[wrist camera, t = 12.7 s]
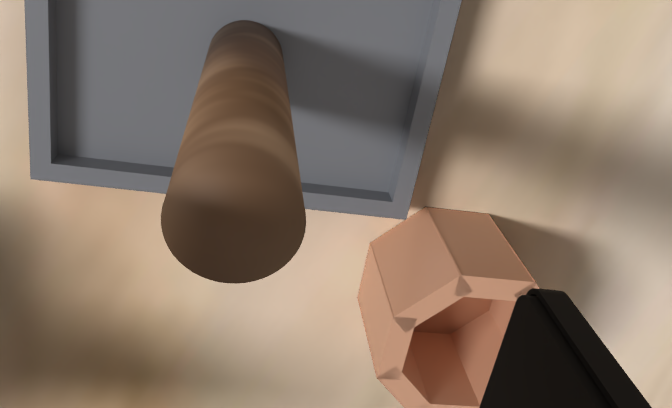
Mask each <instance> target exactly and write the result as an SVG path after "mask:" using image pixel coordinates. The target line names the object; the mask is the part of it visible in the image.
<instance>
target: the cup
mask: <svg viewBox="0 0 672 408" xmlns="http://www.w3.org/2000/svg"><path fill="white" fill-rule="evenodd" d="M532 288H536V289H540V288H539V287H538V285H537V284H536V281H535V280H534V278H533V277H532V276H531V274H530V273H529V271H528V270H527V268H526V267H525V266H524V264H523V263H522V261H521V260H520V258H519V257H518V255H517V254H516V253H515V251H514V250H513V248H512V247H511V245H510V244H509V242H508V241H507V240H506V238H505V237H504V235H503V234H502V232H501V231H500V229H499V228H498V227H497V225H496V224H495V222H494V221H493V219H492V218H491V217H490V215H489V214H484V213H475V212H466V211H457V210H448V209H439V208H430V207H425V208H423V209H422V210H420V211H418V212H417V213H415V214H414V215H412V216H411V217H409V218H408V219H406V220H405V221H403V222H402V223H400V224H399V225H397V226H396V227H394V228H392V229H391V230H389V231H388V232H386V233H385V234H383V235H382V236H380V237H379V238H377V239H376V240H374V241H373V242H370V246H369V250H368V255H367V259H366V263H365V268H364V272H363V276H362V281H361V285H360V289H359V294H358V302H359V306H360V310H361V314H362V318H363V322H364V327H365V331H366V335H367V339H368V343H369V348H370V352H371V356H372V360H373V364H374V368H375V373H376V377H377V379H378V380H379V381H380V382H381V383H382V384H383V385H384V386H385V387H386V388H387V389H388V390H389V392H390V393H391V394H392V395H393V396H394V397H395V398H396V399H397V400H398V401H399V402H400V403H401V405H402V406H403V407H404V408H479V407H480V404H481V401H482V398H483V395H484V393H485V390H486V387H487V384H488V381H489V378H490V375H491V372H492V369H493V366H494V364H495V361H496V358H497V355H498V352H499V349H500V346H501V343H502V340H503V338H504V335H505V332H506V329H507V326H508V323H509V320H510V317H511V314H512V311H513V309H514V306H515V303H516V301H517V299H518V297H519V296H521V295H526V294H527V292H528V291H529V290H530V289H532Z"/></svg>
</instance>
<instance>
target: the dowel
mask: <svg viewBox="0 0 672 408" xmlns="http://www.w3.org/2000/svg"><path fill="white" fill-rule="evenodd" d="M161 226H162V232H163V236H164V239H165V241H166V243H167V245H168V248H169V249H170V251H171V252H172V254H173V255H174V256H175V257H176V258H177V260H178V261H179V262H180V263H181V264H183V265H184V266H185V267H186V268H188V269H189V270H191V271H192V272H194V273H196V274H197V275H199V276H201V277H204V278H207V279H209V280H213V281H217V282H223V283H246V282H251V281H256V280H259V279H262V278H265V277H267V276H269V275H271V274H273V273H275V272H276V271H278V270H279V269H281V268H282V267H283V266H285V265H286V264H287V263H288V262H289V261H290V260H291V259H292V257H293V256H294V255H295V254H296V252H297V250H298V249H299V247H300V245H301V243H302V240H303V237H304V233H305V227H306V214H305V207H304V200H303V193H302V186H301V179H300V172H299V165H298V158H297V151H296V144H295V137H294V130H293V123H292V116H291V109H290V102H289V95H288V88H287V81H286V74H285V67H284V60H283V53H282V48H281V45H280V43H279V41H278V39H277V38H276V36H275V35H274V34H273V32H272V31H270V30H269V29H268V28H267V27H265V26H264V25H262V24H260V23H257V22H254V21H249V20H239V21H234V22H231V23H229V24H227V25H225V26H223V27H222V28H221V29H220V30H219V31H218V32H217V33H216V34H215V35H214V37H213V38H212V41H211V43H210V46H209V49H208V53H207V56H206V59H205V63H204V66H203V70H202V73H201V77H200V80H199V83H198V87H197V90H196V94H195V97H194V101H193V104H192V107H191V111H190V114H189V118H188V121H187V125H186V128H185V131H184V135H183V138H182V142H181V145H180V149H179V152H178V155H177V159H176V162H175V166H174V169H173V173H172V176H171V179H170V183H169V186H168V190H167V193H166V197H165V200H164V203H163V207H162V213H161Z"/></svg>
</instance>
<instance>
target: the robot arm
mask: <svg viewBox="0 0 672 408" xmlns="http://www.w3.org/2000/svg"><path fill="white" fill-rule="evenodd" d="M479 408H652V407H651V406H650V405H649V403H648V402H647V401H646V399H645V398H644V397H643V395H642V394H641V393H640V391H639V390H638V389H637V387H636V386H635V385H634V383H633V382H632V381H631V379H630V378H629V377H628V375H627V374H626V373H625V371H624V370H623V369H622V367H621V366H620V365H619V363H618V362H617V361H616V359H615V358H614V357H613V355H612V354H611V353H610V351H609V350H608V349H607V347H606V346H605V345H604V343H603V342H602V341H601V339H600V338H599V337H598V335H597V334H596V333H595V331H594V330H593V329H592V327H591V326H590V325H589V323H588V322H587V321H586V319H585V318H584V317H583V315H582V314H581V313H580V311H579V310H578V309H577V307H576V306H575V305H574V303H573V302H572V301H571V299H570V298H569V297H568V295H567V294H566V293H565V292H562V291H555V290H546V289H536V288H532V289H530V290H529V291H528V292H527V294H526V295H521V296H519V297H518V299H517V301H516V303H515V306H514V309H513V311H512V314H511V317H510V320H509V323H508V326H507V329H506V332H505V335H504V338H503V340H502V343H501V346H500V349H499V352H498V355H497V358H496V361H495V364H494V366H493V369H492V372H491V375H490V378H489V381H488V384H487V387H486V390H485V393H484V395H483V398H482V401H481V404H480V407H479Z"/></svg>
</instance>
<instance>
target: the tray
mask: <svg viewBox="0 0 672 408" xmlns="http://www.w3.org/2000/svg"><path fill="white" fill-rule="evenodd" d="M461 1H462V0H25V29H26V59H27V88H28V117H29V147H30V176H31V179H35V180H44V181H53V182H62V183H71V184H81V185H90V186H99V187H108V188H118V189H127V190H136V191H145V192H155V193H164V194H166V193H167V190H168V186H169V183H170V179H171V176H172V173H173V169H174V166H175V162H176V159H177V155H178V152H179V149H180V145H181V142H182V138H183V135H184V131H185V128H186V125H187V121H188V118H189V114H190V111H191V107H192V104H193V101H194V97H195V94H196V90H197V87H198V83H199V80H200V77H201V73H202V70H203V66H204V63H205V59H206V56H207V53H208V49H209V46H210V43H211V41H212V38H213V37H214V35H215V34H216V33H217V32H218V31H219V30H220V29H221V28H222V27H223V26H225V25H227V24H229V23H231V22H234V21H239V20H249V21H254V22H257V23H260V24H262V25H264V26H265V27H267V28H268V29H269V30H270V31H272V32H273V34H274V35H275V36H276V38H277V39H278V41H279V43H280V45H281V48H282V53H283V60H284V67H285V74H286V81H287V88H288V95H289V102H290V109H291V116H292V123H293V130H294V137H295V144H296V151H297V158H298V165H299V172H300V179H301V186H302V193H303V200H304V207H305V209H311V210H321V211H330V212H339V213H348V214H358V215H367V216H376V217H385V218H394V219H404V220H406V218H407V214H408V210H409V206H410V202H411V198H412V194H413V190H414V187H415V183H416V179H417V175H418V171H419V167H420V163H421V159H422V155H423V151H424V147H425V143H426V139H427V135H428V131H429V127H430V123H431V120H432V116H433V112H434V108H435V104H436V100H437V96H438V92H439V88H440V84H441V80H442V76H443V72H444V68H445V64H446V60H447V56H448V52H449V49H450V45H451V41H452V37H453V33H454V29H455V25H456V21H457V17H458V13H459V9H460V5H461Z"/></svg>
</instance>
